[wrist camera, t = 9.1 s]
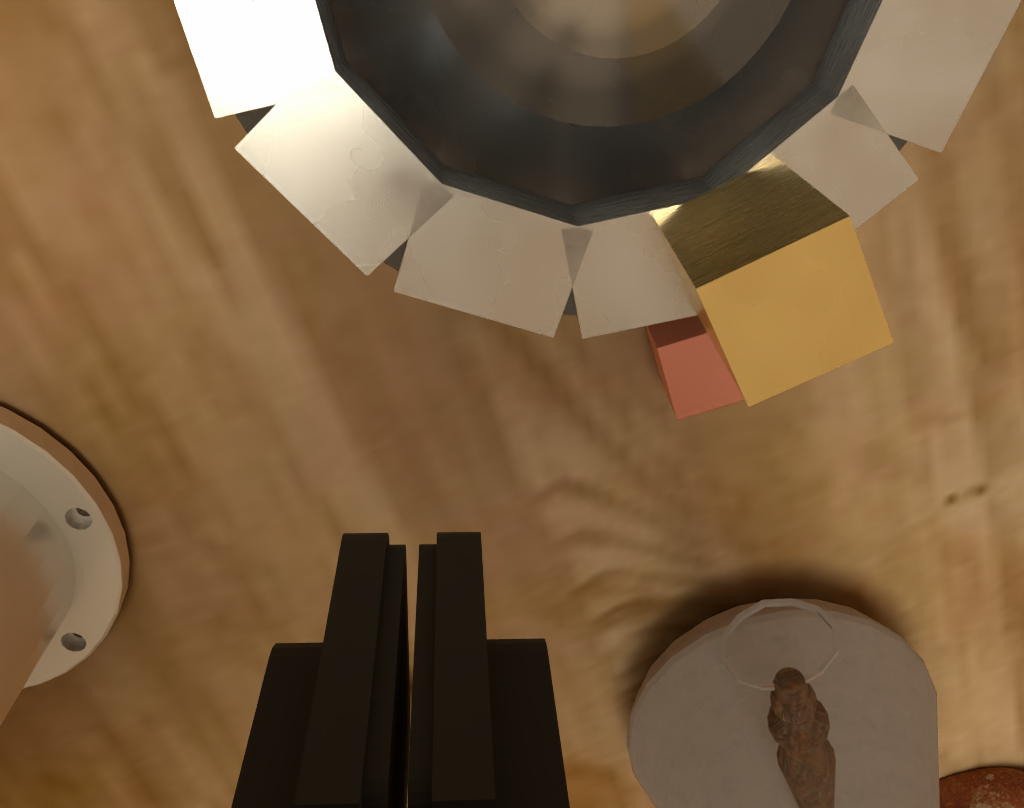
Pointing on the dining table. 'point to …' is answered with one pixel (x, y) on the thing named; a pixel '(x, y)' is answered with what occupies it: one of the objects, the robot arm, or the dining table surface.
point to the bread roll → (983, 789)
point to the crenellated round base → (628, 216)
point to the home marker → (691, 367)
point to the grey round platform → (583, 83)
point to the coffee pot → (787, 713)
